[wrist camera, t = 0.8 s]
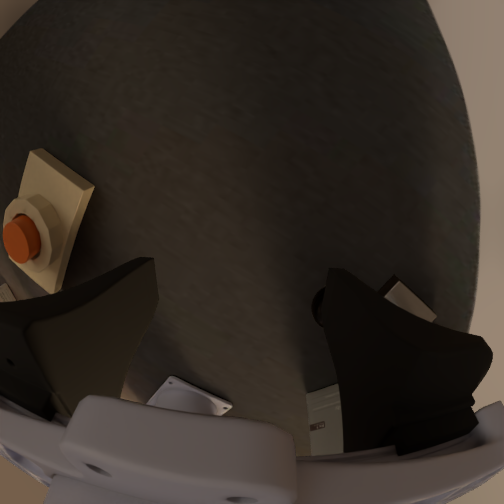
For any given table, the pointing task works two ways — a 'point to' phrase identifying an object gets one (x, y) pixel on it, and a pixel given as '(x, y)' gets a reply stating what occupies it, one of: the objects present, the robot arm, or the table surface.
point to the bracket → (406, 298)
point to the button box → (50, 215)
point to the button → (21, 239)
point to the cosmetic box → (325, 421)
